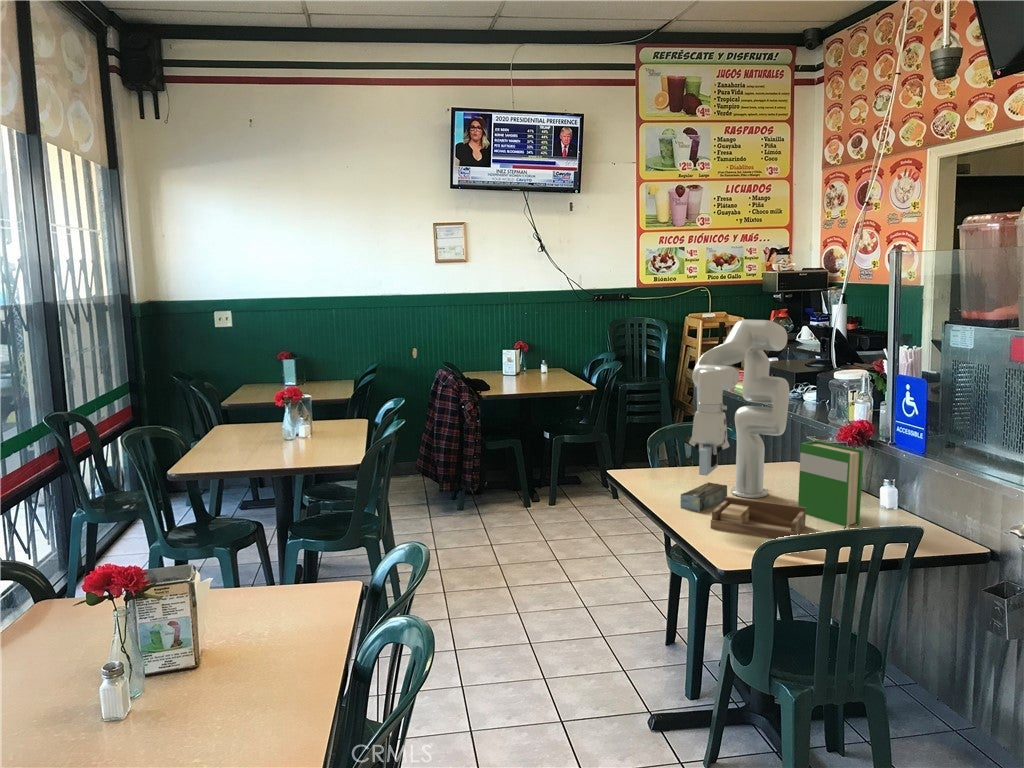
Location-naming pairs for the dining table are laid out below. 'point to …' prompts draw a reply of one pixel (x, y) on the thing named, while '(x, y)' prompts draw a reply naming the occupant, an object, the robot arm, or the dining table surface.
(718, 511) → the tray
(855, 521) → the hardback book
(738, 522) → the offcut
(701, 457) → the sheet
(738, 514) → the offcut
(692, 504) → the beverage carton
